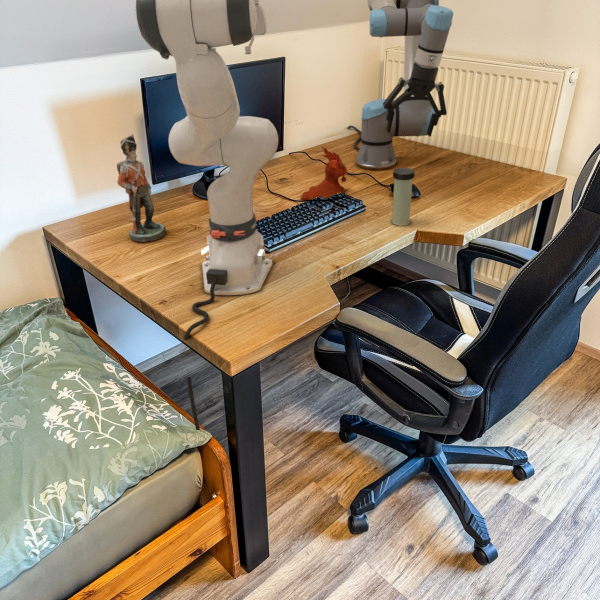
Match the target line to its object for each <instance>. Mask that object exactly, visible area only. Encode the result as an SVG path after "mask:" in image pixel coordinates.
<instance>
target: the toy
mask: <svg viewBox="0 0 600 600" xmlns="http://www.w3.org/2000/svg"><path fill="white" fill-rule="evenodd" d="M321 148H322V151H323V153H324V154H323V155H322V157H324V158H326V159H328V161H327V163H326V164H325V168H324V175H325V176H324V180H323V181H321V182H320V183H318V184H317V185H316V186H311V187H309V188H308V190H307V191H304V192H302V195H301V196H300V199H301V200H302V201H310V200H311V199H314V198H316V197H318V196H321V197H323V198H326V197H329V196H330V195H333V194H337V193H340V192H343V193H345V187H344V186H342V185H341V184H340V181H341V182H343V183H345V182H346V181H347V177H345V175H347V172H348V169H347V164H346V163H345V161H343V159H342V158H341V157H340V155H339V154H337V153H336V151H334V152H333V151H332V152H331V151H329V150H328V149H327V147H323V146H321ZM339 178H341V179H340V181H339Z"/></svg>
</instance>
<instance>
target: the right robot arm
mask: <svg viewBox="0 0 600 600" xmlns="http://www.w3.org/2000/svg"><path fill="white" fill-rule="evenodd" d="M367 5H368V10H369V11H370V13H369V27H368V29H369V35H370V37H373V38H389V37H391V38H392V37H404V60H403V61H404V64H403V65H404V66H403V73H404V74H403V77H399V78H398V80H397V81H398V82H397V84H396V85H395V87H394V88H393V90H391V92H390V93H389V94H388V96H387V97H386V98H381V99H380V98H379V99H374V100H371V101H367V102H366V103H365V104H364V105H363V106H362V109H361V116H360V119H361V129H360V130H359V129H358V127H356V126H354V125H349V126H347V130H349V129H353V130H355V131H356V132H357V133H359V137H358V138H357V139H356V140H355V142H354V143H353V147H354V149H356V150H358V153H357V155H356V158H355V165H356V166H357V167H358V168H360V169H362V170H363V169H364V170H370V171H383V170H388V169H392V168H394V167H395V166H396V165H397V157H396V153H395V149H394V145H393V138H394V137H395V138H396V137H398V138H399V137H400V138H401V137H416V138H417V137H425V136H428V137H432V134H433V131H434V129H435V128H434V127H436V126H438V124H439V120H440V118H441V117H442V116H446V115H447V114H448V113H447V107H446V99H445V95H444V89H445V85H444V83H443V82H442V81H439V82H438V83H437V82H436V80H437V76H438V72H439V66H440V65H441V62H442V58H443V54H444V51H445V47H446V43H447V40H448V36H449V33H450V30H451V27H452V25H453V18H454V11H453V10H452V9H451V8H448V7H446V6H441V5H440V0H367ZM434 89H435V91H436V92H437V97H438V102H439V108H440V109H439V108H438V106H437V103H436V102H435V100H434V97H433V96H432V94H431V92H432V91H433V90H434ZM402 90H403V93H401V94H400V92H401V91H402ZM398 95H399V96H398ZM359 141H360V146H359V147H358V146H357V144H358V143H359Z"/></svg>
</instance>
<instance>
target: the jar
mask: <svg viewBox="0 0 600 600" xmlns="http://www.w3.org/2000/svg"><path fill="white" fill-rule="evenodd" d="M393 178H394V177H393ZM393 181H394V182H393V196H392V197H393V198H392V217H391V223H392V224H393V225H395V226H400V227H405V226H407V225H409V224H410V222H411V221H410V220H411V208H412V207H411V206H412V205H411V204H412V193H413V179H410V180H398V179H395V178H394V180H393Z"/></svg>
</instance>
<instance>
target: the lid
mask: <svg viewBox="0 0 600 600" xmlns="http://www.w3.org/2000/svg"><path fill="white" fill-rule="evenodd" d="M415 175H416V171H415V170H414V169H413V168H410V167H397V168H395V169H393V171H392V177H393V178H395V179H398V180H410V179H412V180H413V179H414V178H415Z"/></svg>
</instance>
